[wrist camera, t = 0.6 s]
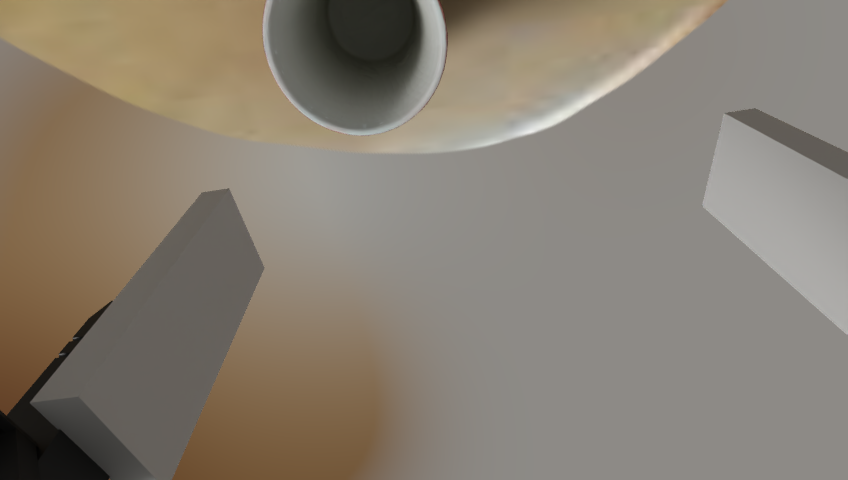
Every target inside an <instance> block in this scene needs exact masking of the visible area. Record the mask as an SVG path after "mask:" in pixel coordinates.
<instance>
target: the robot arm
mask: <svg viewBox="0 0 848 480" xmlns="http://www.w3.org/2000/svg"><path fill="white" fill-rule="evenodd" d="M702 206H703V207H704V208H705V209H706V210H707V211H708V212H710V213H711V214H712V215H713V216H714V217H715V218H717V220H719V221H720V222H721V223H722V224H723V225H724V226H725V227H726V228H728V229H729V230H730V231H731V232H732V233H733V234H734V235H735V236H737V237H738V238H739V239H740V240H741V241H742V242H743V243H744V244H745V245H747V246H748V247H749V248H750V249H751V250H752V251H753V252H755V253H756V254H757V255H758V256H759V257H760V258H761V259H762V260H763V261H765V262H766V263H767V264H768V265H769V266H770V267H772V269H774V270H775V271H776V272H777V273H778V274H779V275H780V276H782V277H783V278H784V279H785V280H786V281H787V282H788V283H789V284H790V285H792V286H793V287H794V288H795V289H796V290H797V291H798V292H799V293H801V294H802V295H803V296H804V297H805V298H806V299H807V300H809V301H810V302H811V303H812V304H813V305H814V306H815V307H816V308H817V309H819V310H820V311H821V312H822V313H823V314H824V315H825V316H826V317H828V318H829V319H830V320H831V321H832V322H833V323H834V324H835V325H837V326H838V327H839V328H840V329H841V330H842V331H843V332H845V333H846V334H847V335H848V152H846V151H844V150H842V149H840V148H837V147H835V146H833V145H831V144H829V143H827V142H825V141H823V140H820V139H819V138H816V137H814V136H812V135H810V134H808V133H806V132H804V131H801V130H799V129H797V128H795V127H793V126H791V125H789V124H787V123H785V122H782V121H780V120H778V119H776V118H774V117H772V116H770V115H768V114H766V113H764V112H762V111H760V110H757V109H748V110H741V111H735V112H728V113H724V116H723V120H722V124H721V129H720V133H719V137H718V141H717V146H716V150H715V154H714V158H713V162H712V167H711V171H710V175H709V179H708V184H707V188H706V192H705V196H704V200H703V205H702ZM263 270H264V266H263V264H262V261H261V259H260V257H259V255H258V252H257V250H256V248H255V246H254V243H253V241H252V239H251V237H250V234H249V232H248V230H247V228H246V225H245V223H244V221H243V219H242V216H241V214H240V212H239V210H238V207H237V205H236V203H235V201H234V199H233V196H232V194H231V192H230V190H229V189H222V190H216V191H210V192H203V193H201V195H200V196H199V197H198V198H197V199H196V201H195V202H194V203H193V204H192V206H191V207H190V208H189V209H188V210H187V212H186V213H185V214H184V215H183V217H182V218H181V219H180V220H179V221H178V223H177V224H176V225H175V226H174V228H173V229H172V230H171V231H170V232H169V234H168V235H167V236H166V237H165V238H164V240H163V241H162V242H161V243H160V245H159V246H158V247H157V248H156V249H155V251H154V252H153V253H152V254H151V256H150V257H149V258H148V259H147V260H146V262H145V263H144V264H143V265H142V266H141V268H140V269H139V270H138V271H137V273H136V274H135V275H134V276H133V277H132V279H131V280H130V281H129V282H128V284H127V285H126V286H125V287H124V288H123V290H122V291H121V292H120V293H119V295H118V296H117V297H116V298H115V299H114V301H111V302H109V303H108V304H107V305H106V306H104V307H103V308H102V309H101V310H99V311H98V312H97V313H95V314H94V315H93V316H91V317H90V318H89V319H88V320H87V321H86V322H85V324H84V325H83V326H82V327H81V328H80V330H79V331H78V332H77V333H76V334H75V335H74V337H73V341H71V342H69V343H68V344H67V345H66V346H65V347H64V348H63V350H62V351H61V352H60V353H59V358H55V359H54V360H53V362H52V363H51V364H50V365H49V366H48V367H47V369H46V370H45V371H44V372H43V373H42V375H41V376H40V377H39V378H38V379H37V380H36V382H35V383H34V384H33V385H32V387H30V389H29V390H28V391H27V392H26V393H25V394H24V396H23V397H22V398H21V399H20V400H19V402H18V403H17V404H16V405H15V406H14V407H13V409H12V410H11V411H10V412H9V413H8V415H7V416H6V415H5V414H4V413H2V412H1V411H0V480H108V479H109V478H110V479H111V480H172V478H173V475H174V473H175V471H176V468H177V466H178V464H179V461H180V459H181V457H182V455H183V452H184V450H185V448H186V445H187V443H188V441H189V439H190V437H191V434H192V432H193V430H194V427H195V425H196V423H197V420H198V418H199V416H200V414H201V411H202V409H203V407H204V404H205V402H206V400H207V397H208V395H209V393H210V391H211V388H212V386H213V384H214V382H215V379H216V377H217V375H218V372H219V370H220V368H221V366H222V363H223V361H224V359H225V357H226V354H227V352H228V350H229V347H230V345H231V343H232V340H233V338H234V336H235V334H236V331H237V329H238V327H239V325H240V322H241V320H242V318H243V316H244V313H245V311H246V309H247V306H248V304H249V302H250V300H251V297H252V295H253V292H254V290H255V288H256V286H257V283H258V281H259V279H260V277H261V274H262V272H263Z"/></svg>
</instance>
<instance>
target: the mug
mask: <svg viewBox="0 0 848 480" xmlns="http://www.w3.org/2000/svg"><path fill="white" fill-rule="evenodd" d="M262 34H263V46H264V50H265V55H266V58H267V61H268V64H269V67H270V70H271V72H272V74H273V76H274V79H275V81H276V82H277V84H278V86H279V87H280V89H281V91H282V92H283V93H284V95H285V96H286V98H287V99H288V100H289V101H290V102H291V103H292V104H293V105H294V106H295V107H296V108H297V109H298V110H299V111H300V112H301V113H302V114H303V115H304V116H306V117H307V118H309V119H310V120H312V121H314V122H315V123H316V124H318V125H320V126H322V127H325V128H327V129H330V130H332V131H335V132H338V133H343V134H348V135H354V136H369V135H375V134H380V133H384V132H387V131H390V130H392V129H395V128H397V127H399V126H401V125H403V124H404V123H406V122H407V121H409V120H410V119H412V118H413V117H414V116H415V115H416V114H417V113H419V112H420V111H421V110H422V109H423V108H424V107H425V105H426V104H427V103H428V102H429V100H430V99H431V97H432V96H433V94H434V92H435V90H436V89H437V87H438V85H439V82H440V80H441V77H442V74H443V71H444V67H445V63H446V57H447V45H448V33H447V27H446V21H445V15H444V12H443V9H442V6H441V3H440V0H266V2H265V7H264V12H263V25H262Z"/></svg>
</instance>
